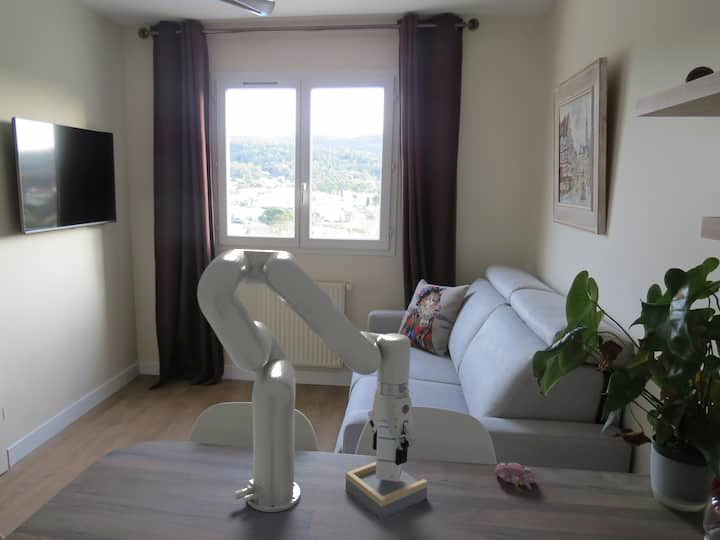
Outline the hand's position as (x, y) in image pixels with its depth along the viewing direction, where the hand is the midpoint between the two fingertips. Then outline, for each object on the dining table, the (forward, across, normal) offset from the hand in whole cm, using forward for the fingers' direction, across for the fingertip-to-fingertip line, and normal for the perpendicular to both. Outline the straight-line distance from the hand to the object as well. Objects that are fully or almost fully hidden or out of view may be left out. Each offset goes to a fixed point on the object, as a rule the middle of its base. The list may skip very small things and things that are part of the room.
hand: (389, 455), depth 125 cm
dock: (+10, 0, +1) cm, 10 cm away
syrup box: (+5, 0, 0) cm, 5 cm away
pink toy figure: (+10, -15, -30) cm, 35 cm away
